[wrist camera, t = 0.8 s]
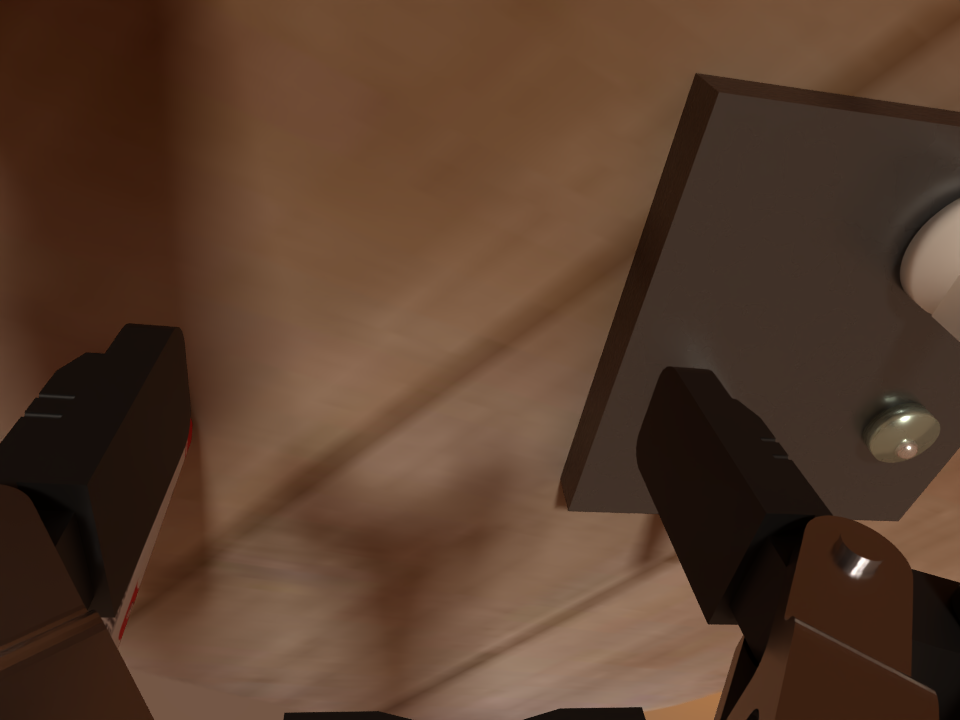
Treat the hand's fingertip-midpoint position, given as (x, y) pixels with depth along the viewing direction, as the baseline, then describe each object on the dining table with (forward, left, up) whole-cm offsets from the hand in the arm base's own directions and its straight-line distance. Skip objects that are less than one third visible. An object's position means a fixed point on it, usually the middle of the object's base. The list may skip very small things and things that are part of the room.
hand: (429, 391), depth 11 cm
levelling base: (+10, +22, -19) cm, 31 cm away
